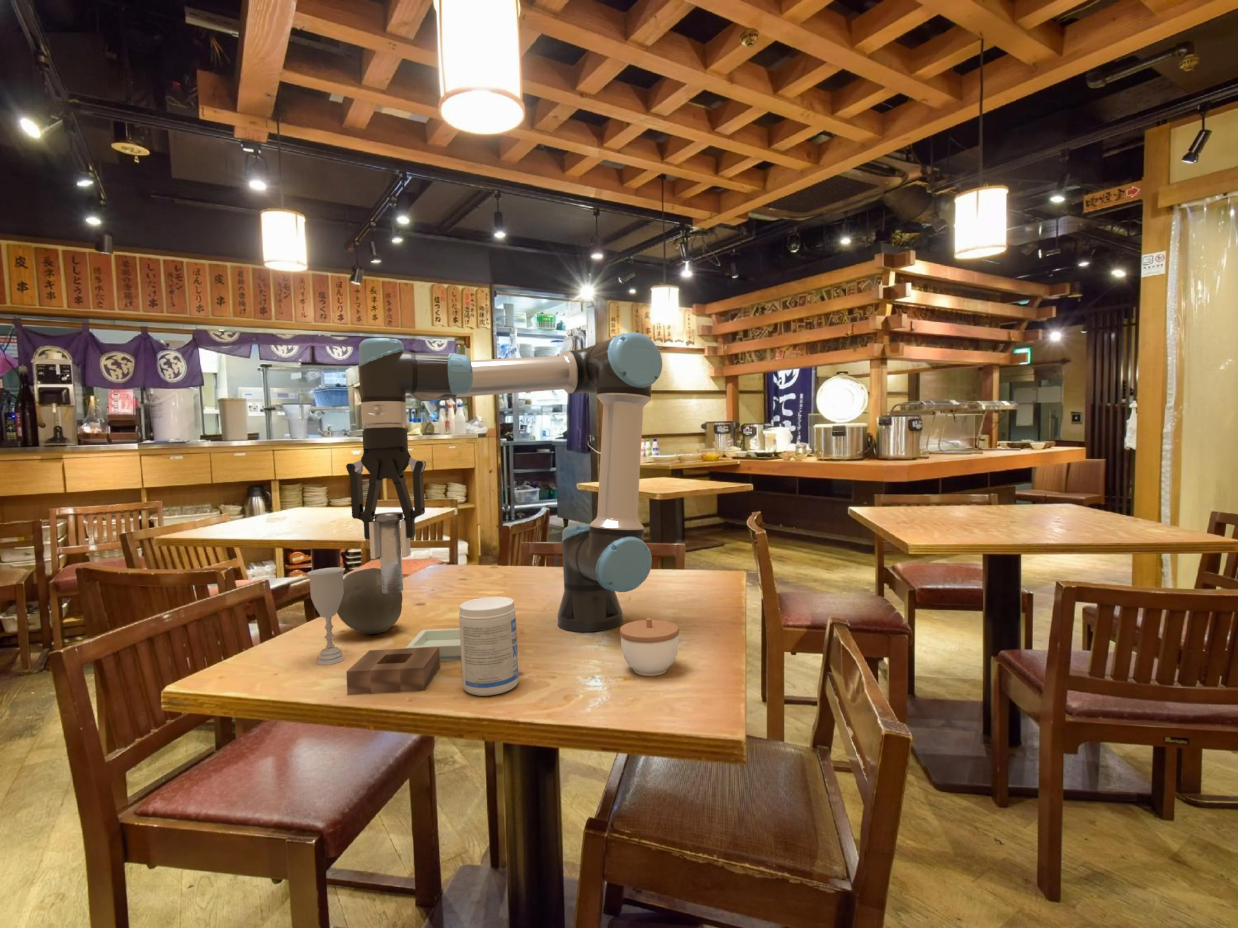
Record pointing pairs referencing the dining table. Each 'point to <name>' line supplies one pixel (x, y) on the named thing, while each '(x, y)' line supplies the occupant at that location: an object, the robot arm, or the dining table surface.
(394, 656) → the block
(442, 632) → the tray
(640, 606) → the dining table surface
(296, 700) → the dining table surface
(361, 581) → the dark grey ball
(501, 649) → the supplement tub
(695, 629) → the dining table surface
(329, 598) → the chalice
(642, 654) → the lidded jar
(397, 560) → the metal pin
